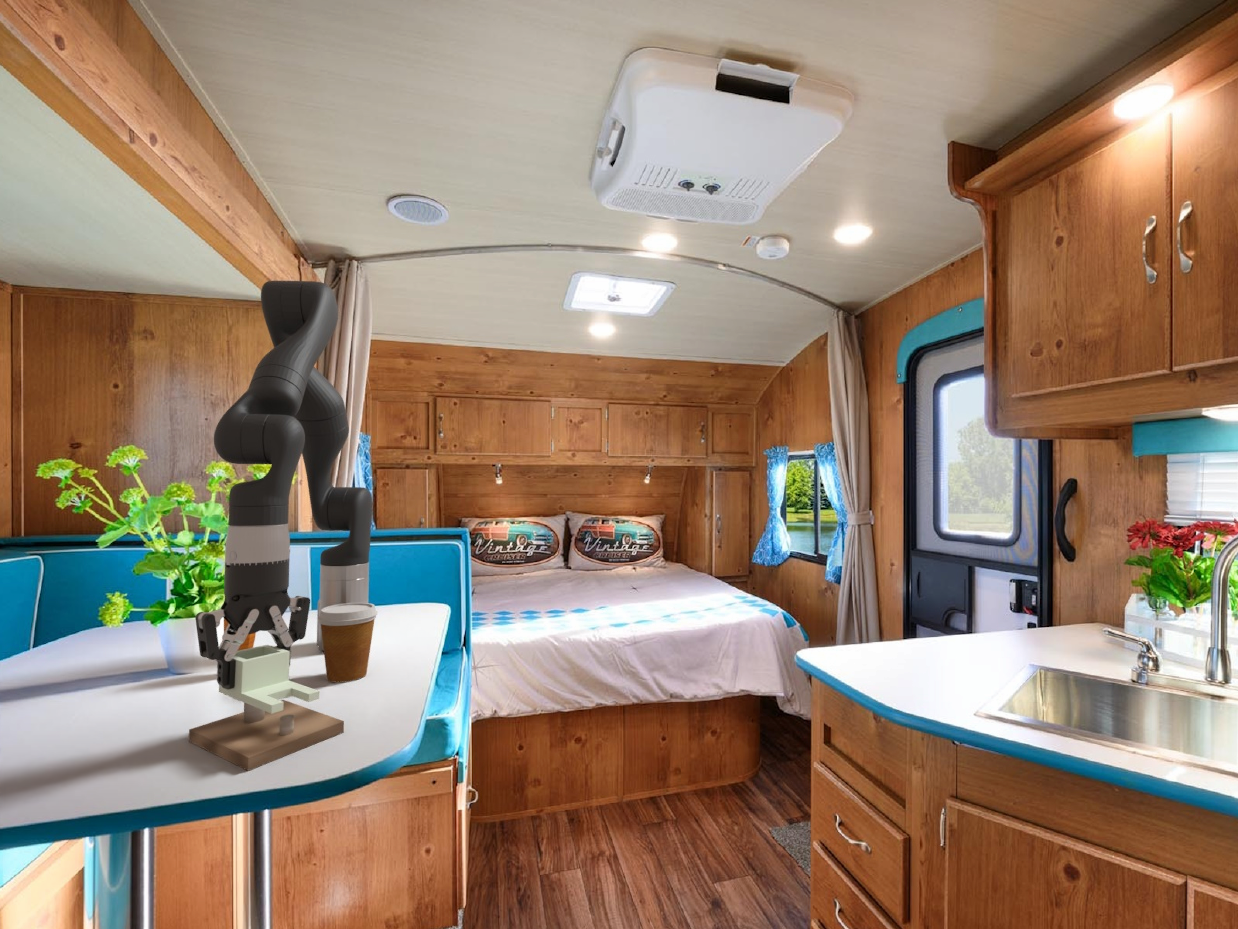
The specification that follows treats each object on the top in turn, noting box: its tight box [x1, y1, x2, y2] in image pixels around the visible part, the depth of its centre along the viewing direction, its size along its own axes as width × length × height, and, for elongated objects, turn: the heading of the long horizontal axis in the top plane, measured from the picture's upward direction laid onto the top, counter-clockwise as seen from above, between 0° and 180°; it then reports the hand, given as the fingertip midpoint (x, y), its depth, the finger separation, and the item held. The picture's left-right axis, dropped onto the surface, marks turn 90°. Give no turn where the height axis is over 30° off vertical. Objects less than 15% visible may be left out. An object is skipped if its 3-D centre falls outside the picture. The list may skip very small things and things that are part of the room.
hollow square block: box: [218, 644, 320, 714], centre depth 75 cm, size 14×6×5 cm, turn 59°
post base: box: [188, 699, 345, 772], centre depth 75 cm, size 15×12×6 cm
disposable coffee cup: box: [318, 602, 378, 683], centre depth 99 cm, size 10×10×12 cm
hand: (254, 680), depth 77 cm, fingers closed on hollow square block, 6 cm apart
